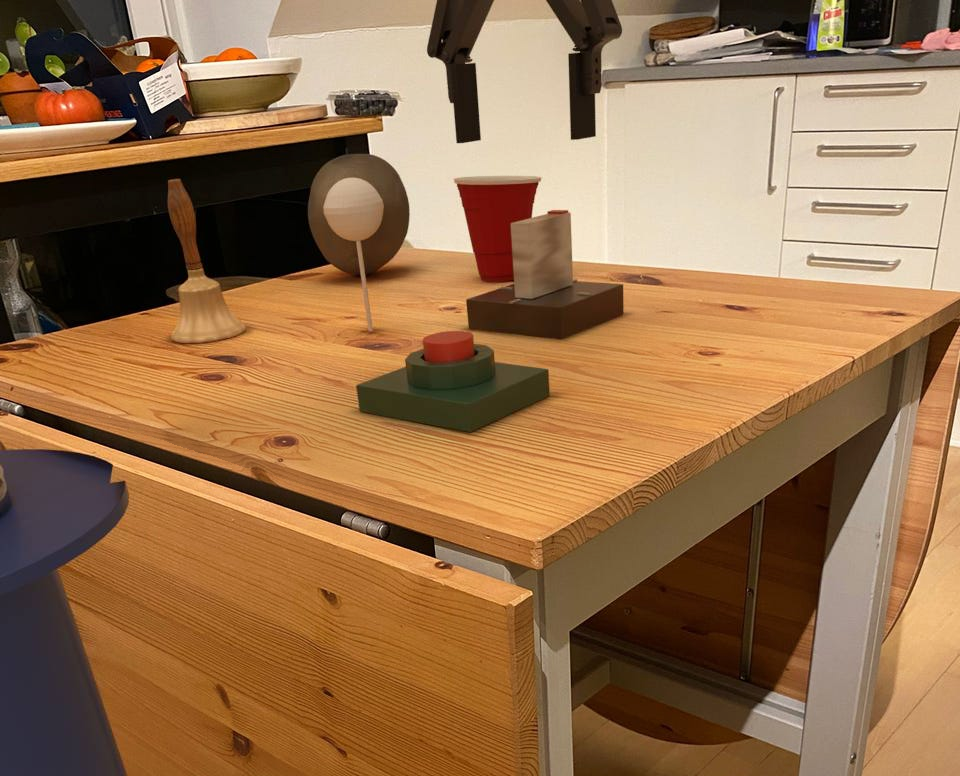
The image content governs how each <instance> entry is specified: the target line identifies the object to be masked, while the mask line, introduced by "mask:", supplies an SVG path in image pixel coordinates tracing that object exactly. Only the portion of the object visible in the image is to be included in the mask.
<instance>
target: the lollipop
mask: <svg viewBox="0 0 960 776" xmlns="http://www.w3.org/2000/svg"><path fill="white" fill-rule="evenodd" d="M383 209H384V205H383V200H382V199H381V197H380V195H379V194H378V192H377V191H376V189H375V188H374V187H373V186H372V185H371V184H369V183H368V182H367V181H364V180H362V179H359V178H345V179H343V180H340V181H338V182H337V183H336V184H334V185H333V187H332V188H331V189H330V190H329V192H328V194H327V197H326V200H325V203H324V215H325V217H326V219H327V221H328V224H329V225H330V227H331V228H332V230H333V231H334V232H335V233H336V234H337V235H339V236H340V237H342V238H344V239H346V240H351V241H356V244H357V252H358V259H359V266H360V273H361V275H360V280H361V286H362V294H363V300H364V307H365V315H366V322H367V329H368V330H367V331H368V332H369V333H370V332H373V331H374V329H373V328H374V327H373V322H372V315H371V313H372V312H371V307H370V300H369V292H368V286H367V285H368V284H367V278H366V275H365V270H364V263H363V255H362V248H361V240H364V239H366V238H369V237H370V236H371V235H373V234H374V233H375V232H376V231H377V229H378V227H379V226H380V224H381V221H382V216H383Z"/></svg>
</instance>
